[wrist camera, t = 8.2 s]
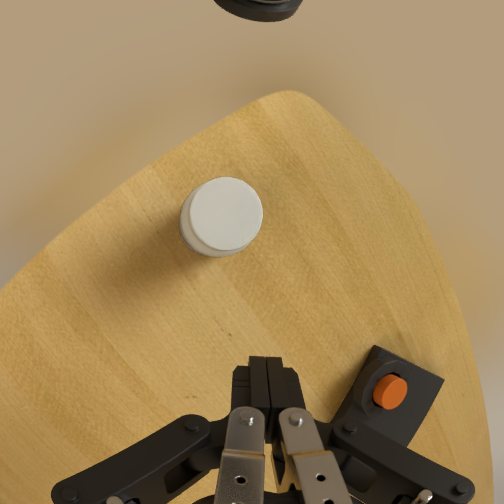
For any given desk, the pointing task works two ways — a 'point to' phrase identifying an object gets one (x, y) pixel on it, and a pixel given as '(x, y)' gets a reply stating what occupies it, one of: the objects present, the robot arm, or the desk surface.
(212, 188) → the pill bottle
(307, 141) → the desk surface
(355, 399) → the black flat block
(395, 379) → the button
